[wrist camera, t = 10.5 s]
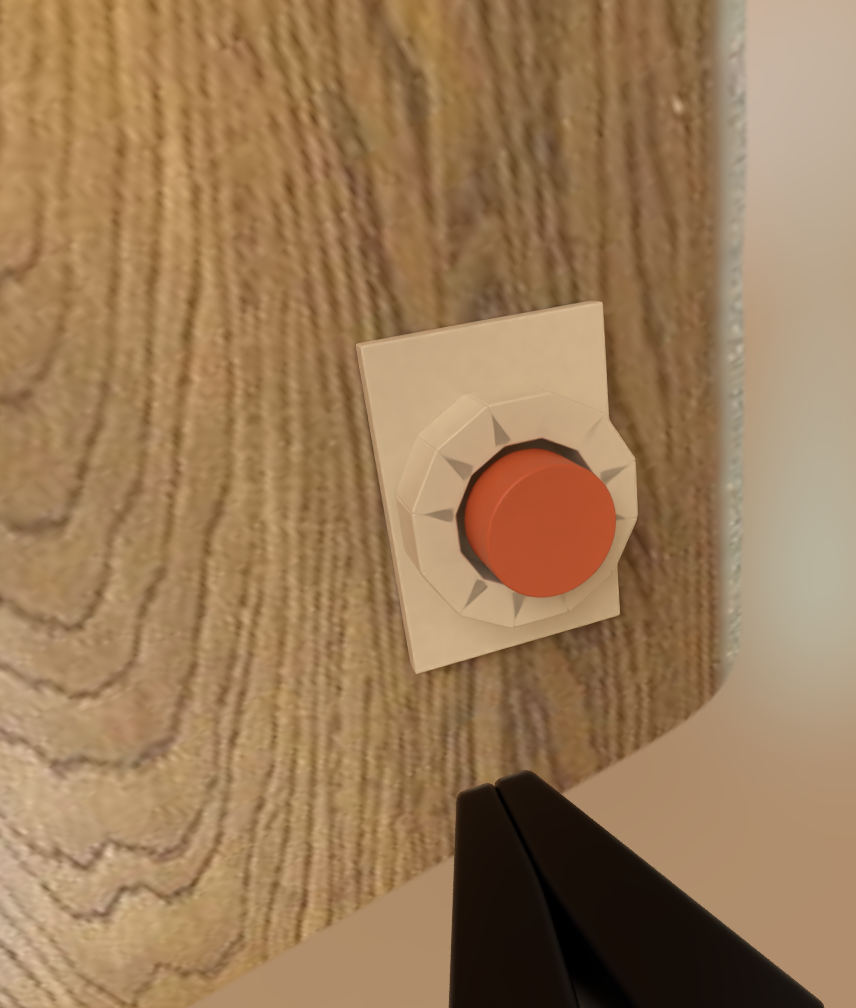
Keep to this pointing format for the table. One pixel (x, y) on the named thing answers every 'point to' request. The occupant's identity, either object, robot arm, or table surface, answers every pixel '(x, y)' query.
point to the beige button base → (471, 450)
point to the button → (540, 522)
